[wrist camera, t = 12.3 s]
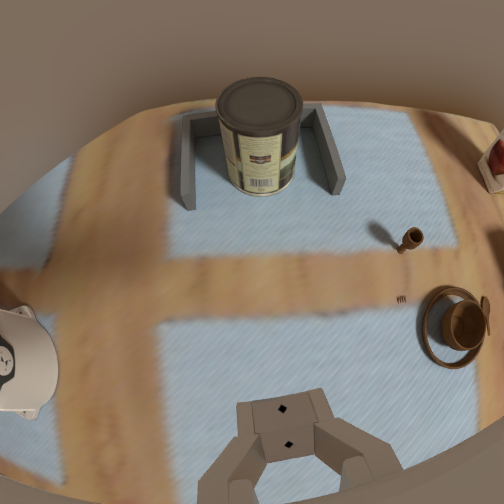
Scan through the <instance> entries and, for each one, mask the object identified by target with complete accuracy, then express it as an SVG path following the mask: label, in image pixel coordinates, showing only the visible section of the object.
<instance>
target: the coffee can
mask: <svg viewBox="0 0 504 504" xmlns="http://www.w3.org/2000/svg"><path fill="white" fill-rule="evenodd" d="M215 108H216V113H217V116H218V118H219V123H220V129H221V134H222V139H223V144H224V150H225V155H226V161H227V166H228V175H229V178H230V180H231V182H232V183H233V185H234V186H235V187H236V188H237V189H239V190H240V191H242V192H243V193H246V194H248V195H251V196H260V197H262V196H270V195H274V194H277V193H279V192H280V191H282V190H284V189H285V188H286V187H287V186H288V185H289V184H290V182H291V181H292V179H293V177H294V171H295V168H294V167H295V159H296V151H297V142H298V135H299V127H300V118H301V114H302V111H303V100H302V97H301V95H300V94H299V92H298V91H297V90H296V89H295V88H293V87H292V86H291V85H289V84H288V83H285V82H284V81H281V80H277V79H274V78H268V77H251V78H246V79H242V80H239V81H236V82H234V83H232V84H230V85H229V86H227V87H226V88H225V89H224V90H222V92H221V93H220V94H219V96H218V97H217V100H216V104H215Z"/></svg>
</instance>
